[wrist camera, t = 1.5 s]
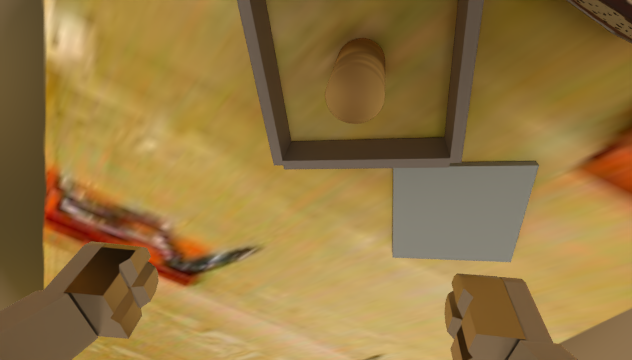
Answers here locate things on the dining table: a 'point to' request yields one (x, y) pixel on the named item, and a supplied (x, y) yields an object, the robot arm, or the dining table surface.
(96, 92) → the dining table surface
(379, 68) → the peg
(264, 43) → the frame
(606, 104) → the dining table surface
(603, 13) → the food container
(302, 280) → the dining table surface
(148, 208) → the dining table surface
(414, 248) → the mat
